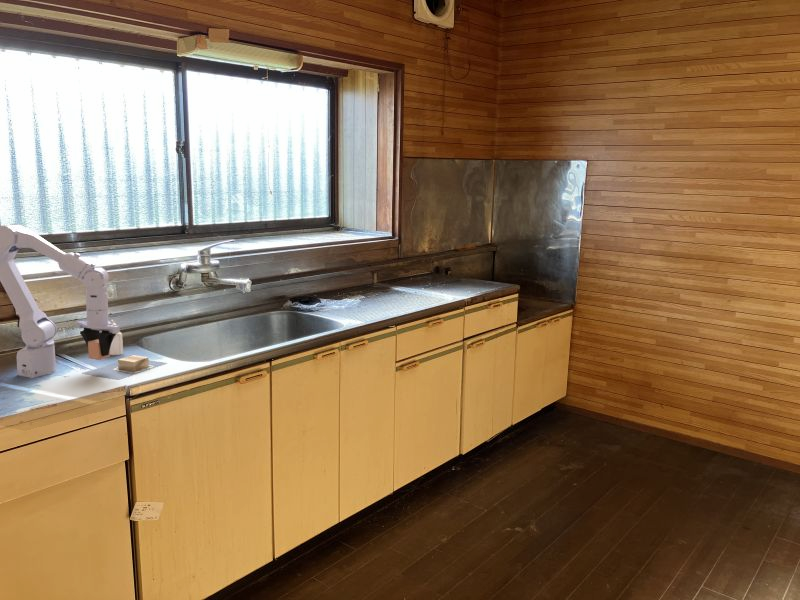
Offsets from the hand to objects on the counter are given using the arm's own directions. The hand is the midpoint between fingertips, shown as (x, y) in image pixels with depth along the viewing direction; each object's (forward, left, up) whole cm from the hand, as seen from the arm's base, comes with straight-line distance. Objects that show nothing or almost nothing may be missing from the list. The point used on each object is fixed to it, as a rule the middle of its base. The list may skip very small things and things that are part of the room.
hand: (99, 354), depth 188 cm
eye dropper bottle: (+17, +12, -6) cm, 22 cm away
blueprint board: (+6, -4, -6) cm, 9 cm away
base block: (+7, -6, -5) cm, 11 cm away
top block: (0, 0, -1) cm, 1 cm away
